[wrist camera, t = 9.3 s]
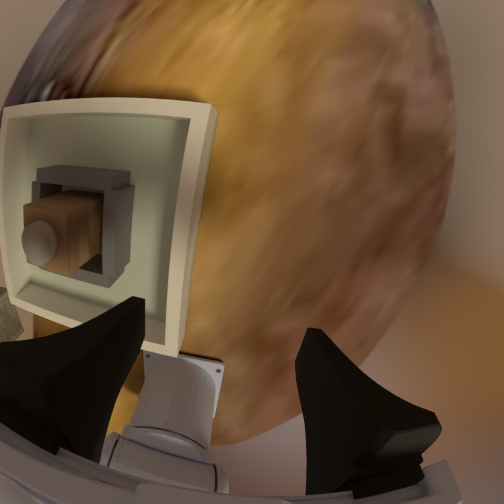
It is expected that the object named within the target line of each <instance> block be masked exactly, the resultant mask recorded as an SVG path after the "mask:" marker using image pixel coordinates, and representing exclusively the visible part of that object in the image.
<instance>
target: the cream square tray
mask: <svg viewBox="0 0 504 504" xmlns="http://www.w3.org/2000/svg"><path fill="white" fill-rule="evenodd" d="M218 115H219V113H218V112H217V110H216V109H215V108H214V107H213V106H212V104H207V103H199V102H189V101H179V100H167V99H151V98H80V99H64V100H53V101H44V102H35V103H28V104H21V105H15V106H10V107H4V110H3V116H2V123H1V130H0V250H1V256H2V264H3V270H4V276H5V280H6V286H7V291H8V296H9V300H10V303H11V304H13V305H16V306H18V307H20V308H22V309H25V310H27V311H29V312H32V313H34V314H36V315H39V316H41V317H44V318H46V319H49V320H51V321H54V322H57V323H59V324H62V325H65V326H68V327H70V328H73V327H76V326H78V325H80V324H83V323H85V322H87V321H89V320H91V319H93V318H95V317H96V316H98V315H100V314H102V313H104V312H106V311H107V310H109V309H111V308H113V307H114V306H116V305H118V304H119V303H121V302H123V301H124V300H126V299H128V298H130V297H131V296H136V297H140V298H144V299H145V338H144V341H143V344H142V347H141V349H142V350H146V351H150V352H154V353H159V354H163V355H167V356H172V357H176V358H177V356H178V353H179V350H180V347H181V344H182V340H183V337H184V334H185V331H186V326H187V316H188V306H189V297H190V288H191V279H192V271H193V263H194V255H195V248H196V240H197V233H198V226H199V220H200V213H201V207H202V201H203V194H204V188H205V183H206V177H207V171H208V166H209V160H210V155H211V150H212V144H213V139H214V134H215V129H216V124H217V120H218ZM70 189H74V190H81V191H88V192H95V193H102V194H104V206H103V230H102V250H101V251H100V252H98V253H97V254H96V255H95V256H93V257H92V258H91V259H89V260H88V261H87V262H86V263H84V264H83V265H82V266H81V267H80V268H78V269H77V270H76V271H75V272H73V273H72V274H71V275H70V276H67V275H64V274H60V273H57V272H54V271H51V270H47V269H44V268H41V267H38V266H35V265H32V264H29V263H27V259H26V255H25V253H24V250H23V247H22V232H23V230H24V220H23V205H25V204H28V203H30V202H33V201H36V200H39V199H42V198H45V197H48V196H51V195H54V194H57V193H60V192H63V191H67V190H70Z"/></svg>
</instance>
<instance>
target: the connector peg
mask: <svg viewBox="0 0 504 504" xmlns="http://www.w3.org/2000/svg"><path fill="white" fill-rule="evenodd" d="M103 206H104V194H102V193H95V192H88V191H81V190H74V189H70V190H67V191H63V192H60V193H57V194H54V195H51V196H48V197H45V198H42V199H39V200H36V201H33V202H30V203H28V204H25V205H23V220H24V230H23V232H22V247H23V250H24V253H25V255H26V259H27V263H29V264H32V265H35V266H38V267H41V268H44V269H47V270H51V271H54V272H57V273H60V274H64V275H67V276H70V275H71V274H72V273H73V272H75V271H76V270H77V269H78V268H80V267H81V266H82V265H83V264H84V263H86V262H87V261H88V260H89V259H91V258H92V257H93V256H95V255H96V254H97V253H98V252H100V251H101V250H102V230H103Z"/></svg>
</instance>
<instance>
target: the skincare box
mask: <svg viewBox="0 0 504 504" xmlns="http://www.w3.org/2000/svg"><path fill="white" fill-rule="evenodd" d="M23 331H24V329H23V327H22V324H21V321H20V319H19V316H18V313H17V311H16V308H15V305H13V304H11V303H10V300H9V296H8V291H7V289H6V288H3V287H0V343H1V342H7V341H15V340H16V339H17V338H18V337H19V335H20V334H21V333H22V332H23Z"/></svg>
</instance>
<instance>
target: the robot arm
mask: <svg viewBox="0 0 504 504" xmlns="http://www.w3.org/2000/svg"><path fill="white" fill-rule="evenodd" d="M144 338H145V299H144V298H140V297H136V296H131V297H130V298H128V299H126V300H124V301H123V302H121V303H119V304H118V305H116V306H114V307H113V308H111V309H109V310H107V311H106V312H104V313H102V314H100V315H98V316H96V317H95V318H93V319H91V320H89V321H87V322H85V323H83V324H80V325H78V326H76V327H73V328H71V329H68V330H65V331H62V332H59V333H55V334H52V335H48V336H45V337H40V338H35V339H29V340H22V341H7V342H1V343H0V476H1V477H2V478H4V479H5V480H6V481H8V482H9V483H10V484H12V485H13V486H15V487H16V488H17V489H19V490H20V491H22V492H23V493H25V494H26V495H28V496H29V497H31V498H33V499H34V500H36V501H37V502H39V503H41V504H460V503H462V502H463V500H464V499H463V497H462V494H461V492H460V490H459V487H458V485H457V482H456V480H455V478H454V475H453V473H452V471H451V469H450V466H449V464H448V462H447V460H443V461H441V462H437V463H435V464H432V465H429V466H427V467H425V468H423V469H421V466H420V464H421V463H422V462H423V458H422V456H421V454H422V453H423V452H424V451H425V450H426V449H428V448H429V447H430V446H431V445H432V444H433V443H434V442H435V441H436V439H437V438H438V437H439V435H440V434H441V431H442V426H441V424H440V422H439V420H438V419H437V417H436V415H435V413H434V412H432V411H429V410H426V409H424V408H421V407H418V406H416V405H413V404H411V403H409V402H407V401H405V400H403V399H401V398H400V397H397V396H395V395H394V394H392V393H391V392H389V391H388V390H386V389H385V388H383V387H382V386H380V385H379V384H377V383H376V382H375V381H373V380H372V379H371V378H370V377H368V376H367V375H366V374H365V373H363V372H362V371H361V370H360V369H359V368H358V367H357V366H356V365H355V364H354V363H353V362H352V361H351V360H350V359H349V358H348V357H347V356H346V355H345V354H344V353H343V352H342V351H341V350H340V349H339V348H338V347H337V346H336V345H335V344H334V343H333V341H332V340H331V339H330V338H329V337H328V336H327V335H326V334H325V333H324V332H323V331H322V330H321V329H316V328H307V331H306V334H305V337H304V339H303V342H302V344H301V347H300V350H299V352H298V355H297V357H296V360H295V372H296V382H297V388H298V393H299V398H300V402H301V407H302V412H303V417H304V423H305V433H306V455H307V470H306V493H305V494H306V495H305V496H256V495H238V494H228V491H229V484H228V476H227V474H226V472H225V471H224V469H223V467H222V466H221V465H220V464H216V463H214V452H211V451H209V445H210V436H211V427H212V419H213V418H214V417H215V412H216V407H217V402H218V397H219V392H220V387H221V382H222V377H223V372H224V366H225V365H224V363H223V362H220V361H214V360H209V359H203V358H198V357H193V356H188V355H183V354H178V356H177V358H176V357H172V356H167V355H163V354H159V353H154V352H150V351H146V350H143V359H144V375H145V382H144V384H143V387H142V389H141V392H140V394H139V397H138V400H137V402H136V405H135V408H134V410H133V413H132V416H131V419H130V421H129V424H128V425H125V426H124V429H123V432H122V434H121V437H120V434H119V433H117V432H112V433H111V434H108V435H106V432H107V428H108V425H109V421H110V418H111V415H112V411H113V408H114V405H115V403H116V400H117V397H118V394H119V392H120V390H121V388H122V386H123V384H124V382H125V380H126V378H127V376H128V374H129V372H130V370H131V368H132V366H133V364H134V362H135V360H136V358H137V356H138V354H139V352H140V349H141V347H142V344H143V341H144ZM147 354H148V355H147ZM149 355H150V356H149ZM217 369H220V370H217Z"/></svg>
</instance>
